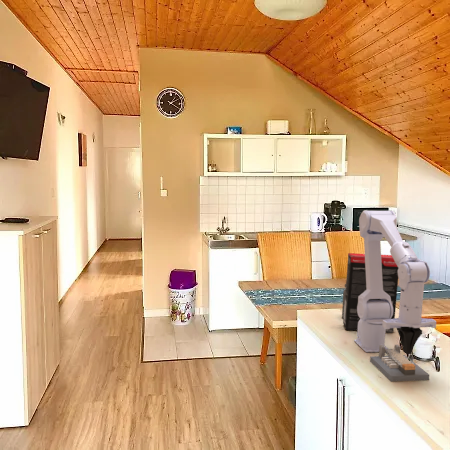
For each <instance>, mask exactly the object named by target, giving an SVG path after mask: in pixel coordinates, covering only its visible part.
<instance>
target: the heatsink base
mask: <svg viewBox="0 0 450 450" xmlns="http://www.w3.org/2000/svg"><path fill="white" fill-rule="evenodd" d="M394 349H395V350H396V351H398V352H399V353H400V354H401V345H399V344H394ZM402 355H403V356H404V357H405V358H406V359H407V360H408V358H409V357H408V356H407V355H404V354H402ZM410 360H411V361H410V362H411V363H412V364H414V365H415V370H404V369H403V368H402V367H401V366H400V365H399V364H397V363H396V362H395V361H394V360H393V359H392V358H391V357H389V356H388V355H386V353H385V347H384V346H383V345H380V347H379V352H378V356H377V355H376V356H375V355H372V356H370V358H369V362H370V363H371V364H372V365H374V367H375V368H376V369H377V370H378V371H380V372H381V374H383V375H384V377H386V378H387V379H388V380H389V381H390V382H393V383H394V382H410V381H413V382H414V381H429V380H430V374H429V373H428V372H427V371H426V370H424V369H423V368H422V367H421V366H419V365H418V364H417V363H415V362H414V361H413V360H412V359H410Z"/></svg>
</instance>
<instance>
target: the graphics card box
mask: <svg viewBox="0 0 450 450" xmlns="http://www.w3.org/2000/svg"><path fill="white" fill-rule="evenodd" d="M347 254H348V255H347V267H346V278H345V284H346V287H345V289H346V293H345V306H344V318H342V324H343V326H344V329H345V331H346V330H348V331H349V330H352V331H358V322H359V320H360V317H359V316H358V313H357V305H358V297H359V296H360V295H361V294H362V293H363V292H364V291H366V289H367V288H366V268H365V253H355V252H354V253H353V252H352V253H351V252H349V253H347ZM381 263H382V281H383V291H384V292H386V293H387V294H388V295H389V296H390V297H391V303H392V306H393V316H392V318H391V319H394V318H396V309H397V308H396V307H397V295H398V287H399V286H398V285H399V277H398V269H399V268H398V266H397V264H396V263H395V261H394V259H393V257H392V255H391V254H381ZM369 300H381V299H369ZM394 331H395V328H389V329H386V332H385V334H386V333H387V334H393V333H394Z"/></svg>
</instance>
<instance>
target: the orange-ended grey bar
mask: <svg viewBox="0 0 450 450" xmlns="http://www.w3.org/2000/svg"><path fill="white" fill-rule="evenodd" d="M385 355H386V356H389V357H391V358H392V359H393V360H394V361H395V362H396V363H397V364H399V365H400V366H401V367H402V368H403V369H404V370H415V365H414V364H412V363H411V362H410V361H409V360H407V359H406V358H405V357H404V356H403V355H404V354H401V352H400V353H399V352H398V351H396V350H395V348H388V349H385Z"/></svg>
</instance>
